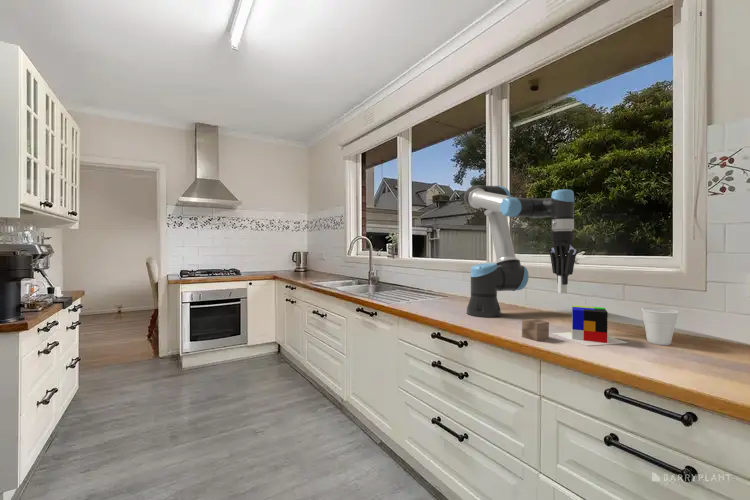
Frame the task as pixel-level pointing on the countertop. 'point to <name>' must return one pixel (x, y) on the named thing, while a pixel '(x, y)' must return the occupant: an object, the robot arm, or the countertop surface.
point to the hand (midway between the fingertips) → (562, 292)
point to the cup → (659, 324)
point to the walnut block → (535, 329)
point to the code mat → (589, 343)
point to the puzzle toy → (589, 323)
